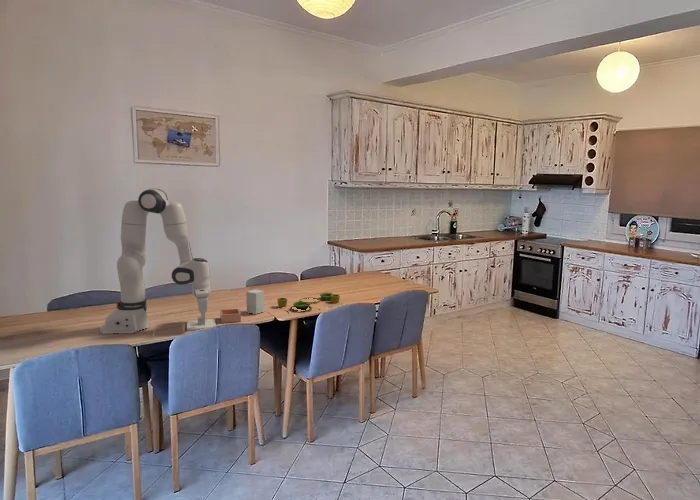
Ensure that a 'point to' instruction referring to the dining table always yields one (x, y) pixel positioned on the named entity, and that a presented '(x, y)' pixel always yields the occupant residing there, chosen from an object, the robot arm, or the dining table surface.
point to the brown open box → (230, 315)
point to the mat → (195, 330)
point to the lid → (200, 324)
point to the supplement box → (255, 301)
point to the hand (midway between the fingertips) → (202, 316)
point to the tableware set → (304, 305)
